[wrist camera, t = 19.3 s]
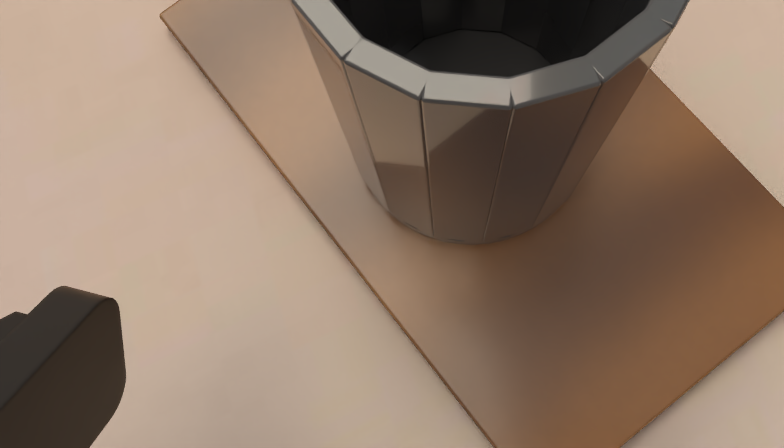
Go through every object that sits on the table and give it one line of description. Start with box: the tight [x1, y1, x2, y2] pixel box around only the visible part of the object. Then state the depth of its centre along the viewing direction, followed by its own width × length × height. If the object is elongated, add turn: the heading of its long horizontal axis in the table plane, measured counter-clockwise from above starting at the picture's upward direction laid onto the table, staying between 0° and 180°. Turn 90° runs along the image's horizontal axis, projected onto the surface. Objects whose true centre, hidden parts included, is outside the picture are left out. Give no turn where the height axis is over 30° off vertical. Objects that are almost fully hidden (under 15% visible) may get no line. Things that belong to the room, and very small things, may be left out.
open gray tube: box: [290, 0, 690, 245], centre depth 14 cm, size 6×6×9 cm
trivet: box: [160, 0, 784, 448], centre depth 19 cm, size 16×9×1 cm, turn 38°
